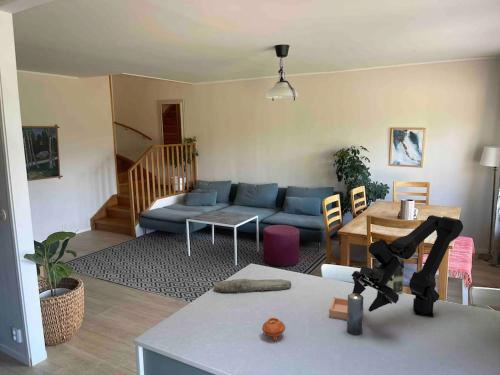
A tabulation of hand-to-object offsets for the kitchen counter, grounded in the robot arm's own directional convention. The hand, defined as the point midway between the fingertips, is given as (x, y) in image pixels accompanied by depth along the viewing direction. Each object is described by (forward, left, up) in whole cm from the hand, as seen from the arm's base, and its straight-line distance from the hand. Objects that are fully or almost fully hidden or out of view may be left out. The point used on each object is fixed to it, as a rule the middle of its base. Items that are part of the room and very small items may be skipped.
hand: (360, 305), depth 131 cm
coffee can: (-11, -40, -10) cm, 42 cm away
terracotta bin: (+5, -12, -9) cm, 16 cm away
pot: (+27, +13, -10) cm, 32 cm away
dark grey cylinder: (+1, +1, -9) cm, 10 cm away
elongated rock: (+47, -21, -10) cm, 53 cm away
